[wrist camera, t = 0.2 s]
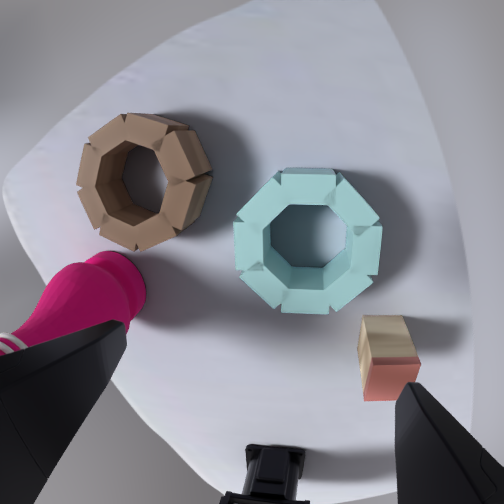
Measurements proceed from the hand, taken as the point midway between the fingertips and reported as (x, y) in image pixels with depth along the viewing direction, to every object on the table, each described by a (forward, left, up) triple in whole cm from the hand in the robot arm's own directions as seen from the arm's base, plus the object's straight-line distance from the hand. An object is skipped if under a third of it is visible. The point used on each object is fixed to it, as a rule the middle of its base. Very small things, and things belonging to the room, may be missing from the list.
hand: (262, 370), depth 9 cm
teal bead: (0, -1, -14) cm, 14 cm away
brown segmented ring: (+4, +10, -14) cm, 18 cm away
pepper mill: (-5, +15, -14) cm, 21 cm away
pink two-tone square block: (-8, -7, -14) cm, 18 cm away
